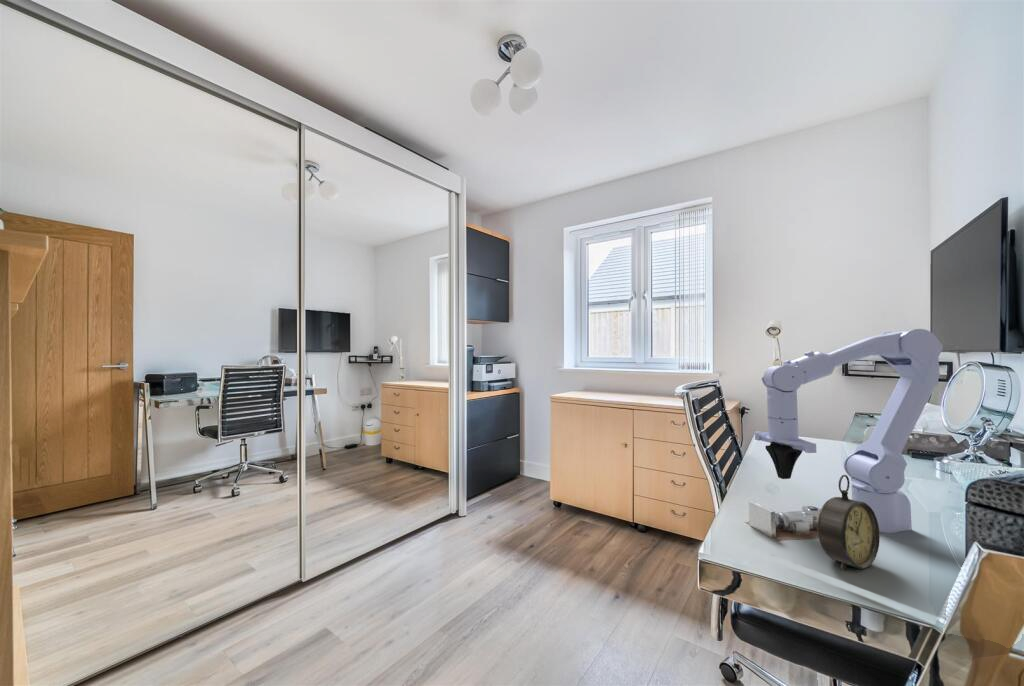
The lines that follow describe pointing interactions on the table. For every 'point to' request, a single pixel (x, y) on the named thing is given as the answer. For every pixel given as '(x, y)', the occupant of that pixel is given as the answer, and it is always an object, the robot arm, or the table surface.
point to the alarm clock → (848, 531)
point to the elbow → (801, 517)
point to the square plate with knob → (772, 521)
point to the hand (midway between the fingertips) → (784, 478)
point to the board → (793, 535)
